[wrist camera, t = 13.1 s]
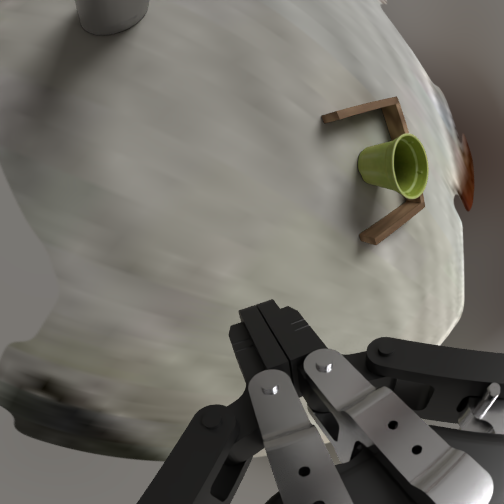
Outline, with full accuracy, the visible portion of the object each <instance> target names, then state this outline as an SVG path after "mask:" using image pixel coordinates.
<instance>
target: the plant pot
mask: <svg viewBox="0 0 504 504" xmlns="http://www.w3.org/2000/svg"><path fill="white" fill-rule="evenodd" d="M358 169H359V172H360V173H361V175H362V178H363V180H364V181H365V182H366V183H368V184H371V185H375V186H379V187H383V188H387V189H390V190H394V191H397V192H398V193H400V194H401V195H402V196H404V197H405V198H408V199H416V198H418V197H419V196H420V195H421V194H422V193H423V191H424V189H425V187H426V184H427V180H428V171H429V170H428V160H427V156H426V152H425V150H424V147H423V145H422V144H421V142H420V141H419V139H418V138H417V137H416V136H414V135H412V134H409V133H406V134H402V135H401V136H399V137H398V138H396V139H394V140H393V141H390V142H386V143H382V144H378V145H374V146H371V147H367V148H365V149H364V150H363V151H362V152H361V153H360V155H359V159H358Z"/></svg>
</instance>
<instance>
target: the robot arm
mask: <svg viewBox="0 0 504 504" xmlns="http://www.w3.org/2000/svg"><path fill="white" fill-rule="evenodd" d="M75 4H76V8H77V12H78V15H79V19H80V22H81V26H82V27H83V28H84V30H86V31H87V32H89V33H92V34H96V35H109V34H115V33H118V32H121V31H124V30H126V29H128V28H130V27H132V26H133V25H135V24H136V23H137V22H138V21H140V20H141V19H142V18H143V16H144V15H145V13H146V12H147V9H148V5H149V0H75ZM239 315H240V319H241V323H238V324H235V325H232V326H231V327H230V331H229V338H230V341H231V344H232V347H233V350H234V353H235V356H236V359H237V361H238V364H239V367H240V369H241V372H242V374H243V377H244V379H245V382H246V388H245V391H244V393H243V394H242V396H241V397H240V398H239V399H238V400H236V401H235V402H233V403H232V404H230V405H229V406H227V407H226V406H223V405H209V406H206V407H204V408H202V409H200V410H199V411H198V412H197V413H196V414H195V415H194V417H193V419H192V420H191V422H190V423H189V425H188V427H187V428H186V430H185V431H184V433H183V434H182V436H181V438H180V439H179V441H178V442H177V444H176V445H175V447H174V449H173V450H172V452H171V453H170V455H169V456H168V458H167V459H166V461H165V462H164V464H163V466H162V467H161V469H160V470H159V472H158V473H157V475H156V476H155V478H154V479H153V481H152V482H151V484H150V485H149V486H148V488H147V489H146V491H145V492H144V494H143V495H142V497H141V498H140V500H139V501H138V502H137V504H230V503H231V501H232V499H233V496H234V495H235V493H236V491H237V489H238V487H239V485H240V483H241V481H242V479H243V477H244V475H245V472H246V471H247V468H248V466H249V464H250V462H251V460H252V457H253V455H255V454H256V453H258V452H259V451H260V450H262V449H263V448H265V450H266V453H267V456H268V459H269V462H270V465H271V468H272V472H273V475H274V478H275V481H276V483H277V486H278V489H279V492H277V493H276V494H275V495H274V496H272V497H271V498H270V499H269V500H268V501H267V502H266V503H265V504H504V354H502V353H493V352H483V351H475V350H467V349H459V348H452V347H445V346H438V345H432V344H425V343H419V342H413V341H407V340H401V339H396V338H390V337H381V338H378V339H375V340H374V341H372V342H371V343H370V344H369V345H368V347H367V351H365V352H360V353H355V354H349V355H342V354H340V353H339V352H338V351H336V350H333V349H328V348H327V347H326V346H325V344H324V343H323V342H322V341H321V339H320V338H319V337H318V336H317V334H316V333H315V332H314V331H313V329H312V328H311V327H310V326H309V325H308V323H307V322H306V321H305V320H304V318H303V317H302V316H301V314H300V313H299V312H298V311H297V310H295V309H293V308H291V307H289V306H287V307H284V308H281V309H280V308H279V307H278V305H277V304H276V303H275V301H274V300H273V299H271V300H269V301H266V302H263V303H260V304H257V305H256V306H255V305H254V306H251V307H248V308H245V309H242V310H239ZM302 396H303V397H304V399H305V400H306V402H307V409H308V411H309V413H310V415H311V416H312V417H313V419H314V420H315V421H316V423H317V424H318V426H319V427H320V428H321V430H322V431H323V432H324V434H325V435H326V436H327V438H328V439H329V441H330V442H331V443H332V445H333V446H334V448H335V451H336V454H337V456H338V458H339V460H340V461H341V463H342V464H338V465H334V463H333V461H332V459H331V457H330V455H329V453H328V451H327V448H326V447H325V444H324V442H323V440H322V438H321V436H320V434H319V432H318V430H317V428H316V427H315V426H314V425H312V424H311V423H310V421H309V419H308V416H307V414H306V412H305V410H304V408H303V406H302V403H301V401H300V399H299V397H302ZM421 418H423V419H428V420H435V421H442V422H449V423H458V424H459V426H460V428H459V430H457V429H451V428H445V427H438V426H433V425H427V424H426V423H425V422H424V421H423V420H422V419H421Z"/></svg>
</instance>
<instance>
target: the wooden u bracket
mask: <svg viewBox="0 0 504 504" xmlns="http://www.w3.org/2000/svg"><path fill="white" fill-rule="evenodd" d="M378 108H381V109H382V112H383V115H384V118H385V121H386V124H387V127H388V130H389V133H390V136H391V140H392V141H393V140H394V139H396V138H398V137H399V136H401V135H402V134H406V133H409V132H408V128H407V125H406V122H405V119H404V115H403V112H402V109H401V106H400V103H399V101H398V98H397V97H392V98H388V99H383V100H379V101H374V102H370V103H366V104H362V105H358V106H354V107H350V108H346V109H343V110H339V111H336V112H332V113H329V114H326V115H322V119H323V122H324V123H328V122H332V121H336V120H340V119H343V118H346V117H350V116H353V115H356V114H360V113H363V112H367V111H371V110H374V109H378ZM424 207H425V203H424V197H423V193H422V194H421V195H420V196H419V197H418V198H416V199H408V198H406V202H405V203H403V204H402V205H401V206H399V207H398V208H396V209H395V210H394V211H392V212H391V213H389V214H388V215H387V216H385V217H384V218H382V219H381V220H379V221H378V222H376V223H375V224H374V225H372V226H371V227H369V228H368V229H366V230H365V231H363V232H362V233H360V234H359V236H360V240H361V241H363V242H366V243H370V244H373V245H377V244H378V243H380V242H381V241H382V240H384V239H385V238H386V237H388V236H389V235H390V234H392V233H393V232H394V231H395V230H397V229H398V228H399V227H401V226H402V225H403V224H404V223H406V222H407V221H408V220H409V219H411V218H412V217H413V216H414V215H416V214H417V213H418V212H419V211H421V210H422V209H423V208H424Z"/></svg>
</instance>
